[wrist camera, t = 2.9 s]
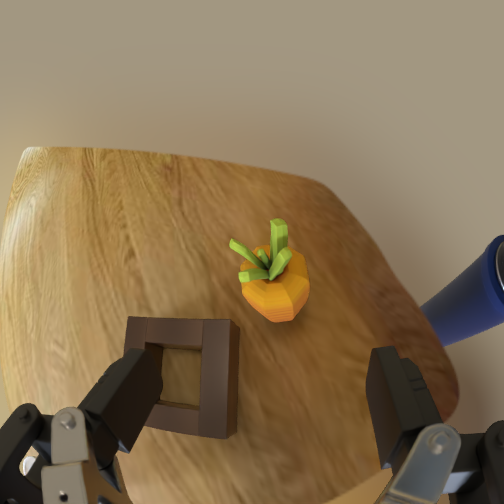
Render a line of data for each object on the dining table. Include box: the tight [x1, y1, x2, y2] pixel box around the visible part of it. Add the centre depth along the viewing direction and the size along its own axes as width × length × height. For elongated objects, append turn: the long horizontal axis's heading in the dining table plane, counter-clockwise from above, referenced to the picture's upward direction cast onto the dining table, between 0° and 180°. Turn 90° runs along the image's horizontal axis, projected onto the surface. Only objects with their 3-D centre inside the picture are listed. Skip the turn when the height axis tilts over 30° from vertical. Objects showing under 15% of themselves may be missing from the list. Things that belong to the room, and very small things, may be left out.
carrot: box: [229, 218, 310, 322], centre depth 21 cm, size 5×5×15 cm
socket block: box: [123, 316, 240, 439], centre depth 24 cm, size 11×11×4 cm
